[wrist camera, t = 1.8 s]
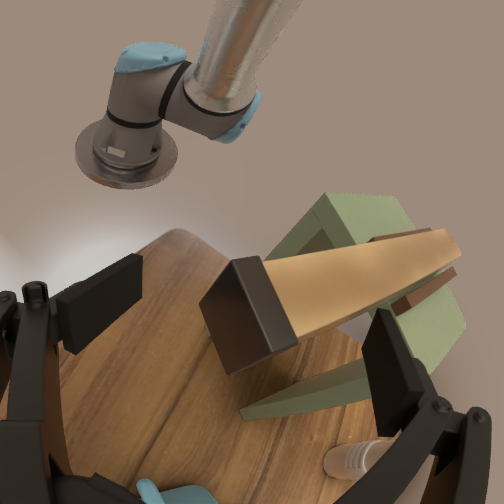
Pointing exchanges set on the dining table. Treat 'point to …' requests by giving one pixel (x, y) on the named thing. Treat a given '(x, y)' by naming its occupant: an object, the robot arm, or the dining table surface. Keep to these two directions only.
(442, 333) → the shelf stand
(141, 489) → the teapot
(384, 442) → the candle
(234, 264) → the slide bar
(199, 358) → the dining table surface
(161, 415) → the dining table surface
